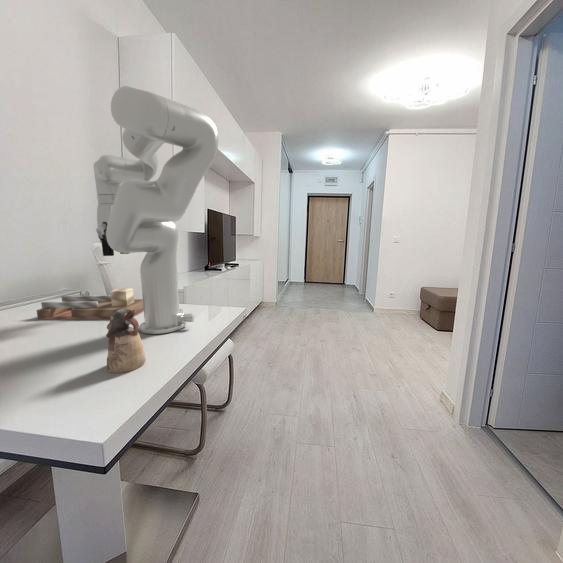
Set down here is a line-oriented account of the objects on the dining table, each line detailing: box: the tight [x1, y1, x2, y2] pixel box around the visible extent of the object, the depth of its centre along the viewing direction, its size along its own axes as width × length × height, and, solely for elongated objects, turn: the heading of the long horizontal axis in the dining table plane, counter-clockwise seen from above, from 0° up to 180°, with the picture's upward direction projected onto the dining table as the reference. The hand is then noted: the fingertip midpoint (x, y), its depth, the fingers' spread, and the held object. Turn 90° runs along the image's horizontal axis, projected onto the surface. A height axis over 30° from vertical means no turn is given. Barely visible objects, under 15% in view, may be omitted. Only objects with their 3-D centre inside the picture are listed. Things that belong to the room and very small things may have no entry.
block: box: [110, 287, 135, 306], centre depth 98 cm, size 5×5×5 cm
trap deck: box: [36, 295, 144, 320], centre depth 98 cm, size 30×14×5 cm, turn 91°
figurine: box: [105, 309, 147, 374], centre depth 59 cm, size 7×7×12 cm
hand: (117, 254), depth 95 cm, fingers open, 9 cm apart
